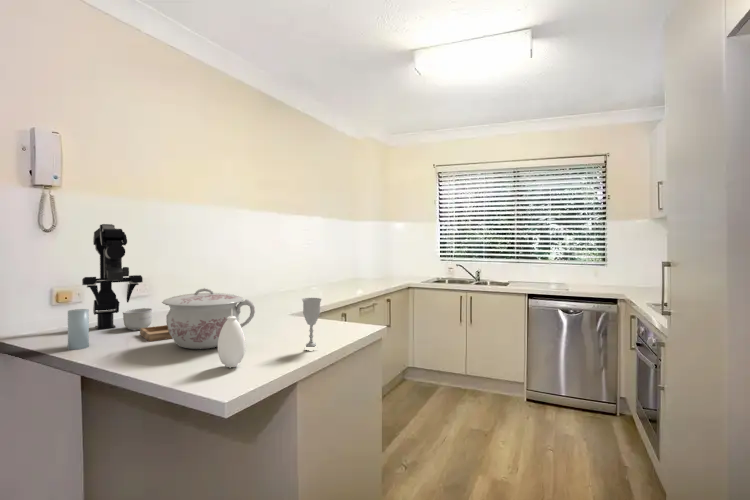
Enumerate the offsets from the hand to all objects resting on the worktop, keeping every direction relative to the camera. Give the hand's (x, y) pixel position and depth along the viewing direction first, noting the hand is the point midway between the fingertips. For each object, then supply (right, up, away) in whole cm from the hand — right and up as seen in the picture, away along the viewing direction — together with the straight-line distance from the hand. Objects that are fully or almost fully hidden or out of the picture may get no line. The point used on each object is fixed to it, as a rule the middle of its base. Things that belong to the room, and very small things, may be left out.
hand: (113, 303), depth 155 cm
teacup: (-3, -14, +23) cm, 27 cm away
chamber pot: (+35, -15, -3) cm, 38 cm away
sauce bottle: (+54, -16, -28) cm, 63 cm away
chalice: (+75, -16, -7) cm, 77 cm away
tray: (+13, -14, +9) cm, 21 cm away
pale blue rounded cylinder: (-6, -14, -10) cm, 18 cm away
